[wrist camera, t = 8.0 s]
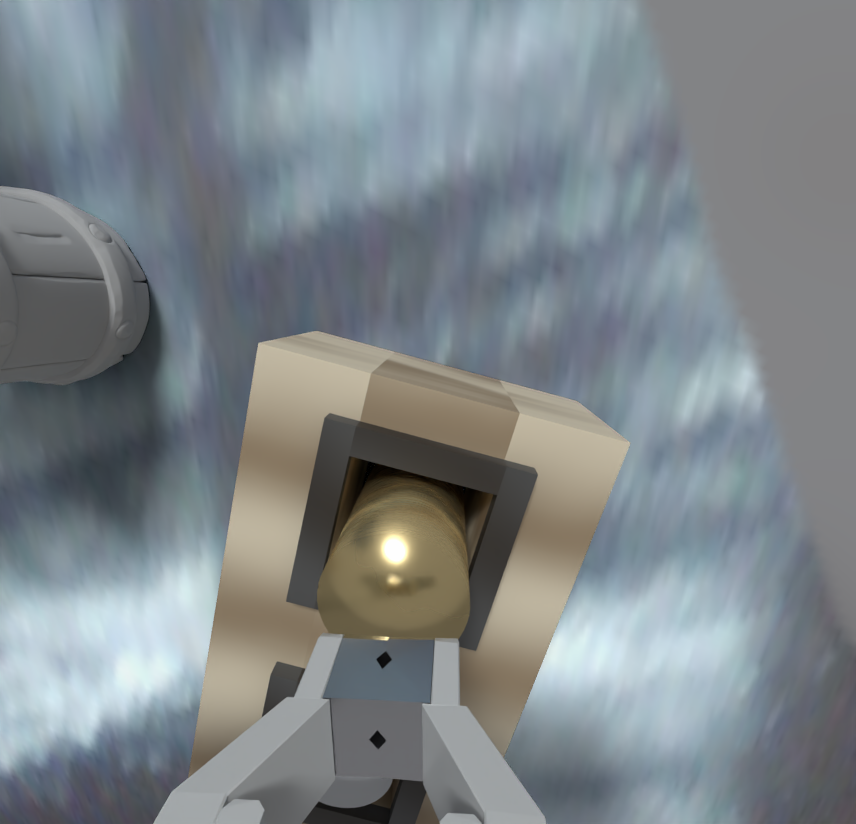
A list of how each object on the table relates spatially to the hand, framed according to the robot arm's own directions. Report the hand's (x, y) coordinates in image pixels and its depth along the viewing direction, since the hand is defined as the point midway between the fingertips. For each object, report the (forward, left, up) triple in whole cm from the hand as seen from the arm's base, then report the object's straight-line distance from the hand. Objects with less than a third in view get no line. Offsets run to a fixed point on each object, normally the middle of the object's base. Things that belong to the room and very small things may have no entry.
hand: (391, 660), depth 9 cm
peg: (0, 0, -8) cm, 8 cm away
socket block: (-5, 0, -12) cm, 13 cm away
